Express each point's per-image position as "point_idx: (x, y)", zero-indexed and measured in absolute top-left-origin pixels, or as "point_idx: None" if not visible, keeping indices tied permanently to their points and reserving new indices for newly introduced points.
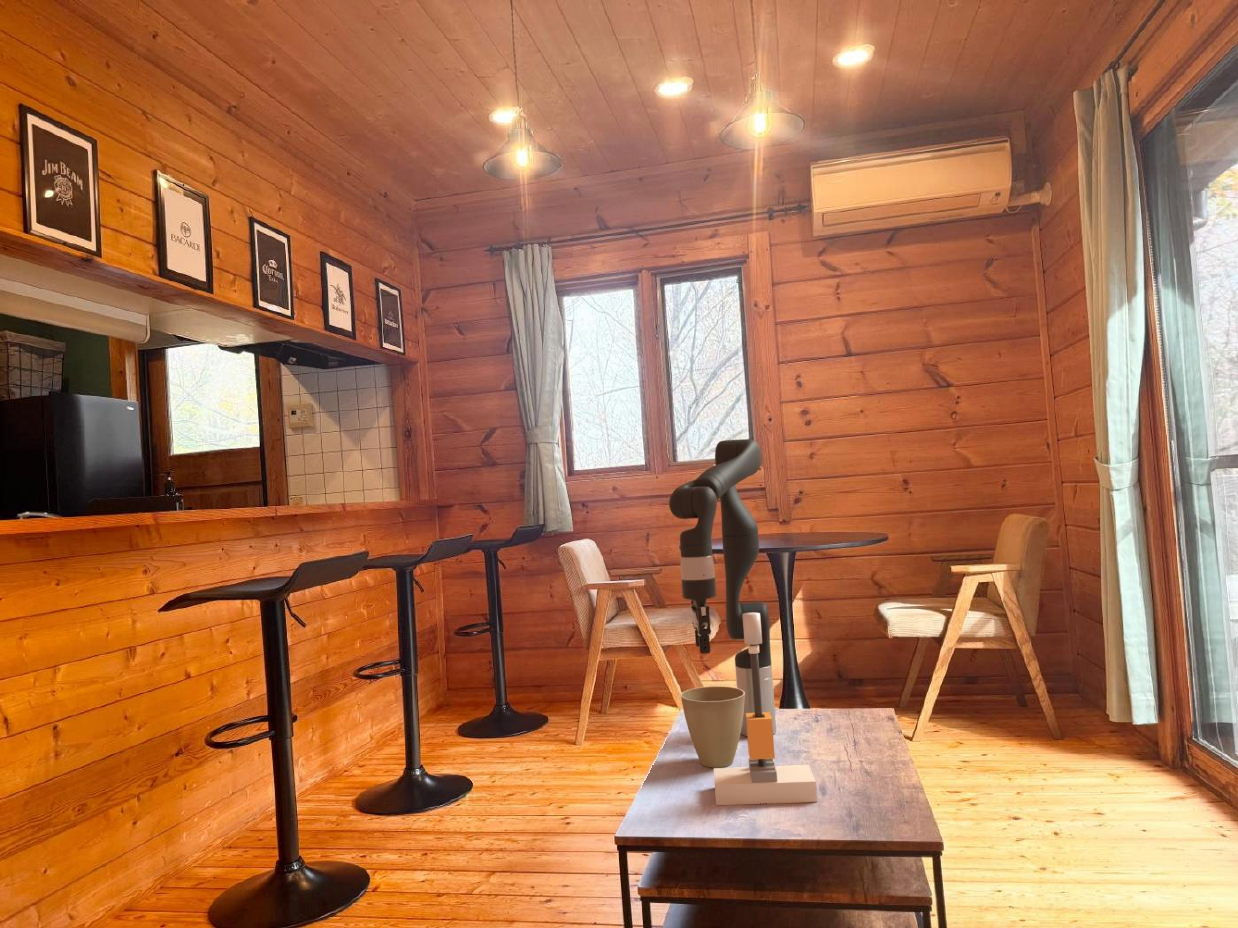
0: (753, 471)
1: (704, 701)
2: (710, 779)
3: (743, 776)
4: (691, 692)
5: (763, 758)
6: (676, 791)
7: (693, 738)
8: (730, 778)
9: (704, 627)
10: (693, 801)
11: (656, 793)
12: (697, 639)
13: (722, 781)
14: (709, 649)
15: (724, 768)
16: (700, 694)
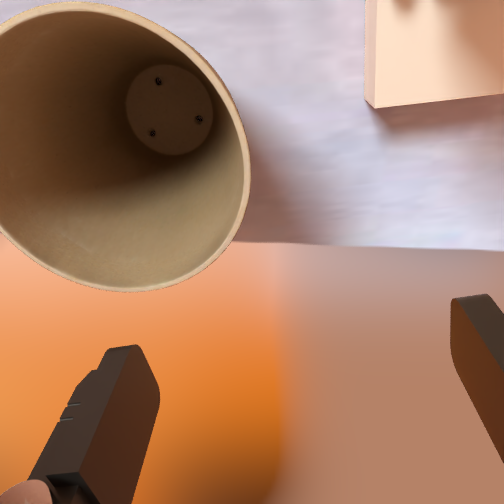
0: None
1: (247, 195)
2: (304, 115)
3: (466, 2)
4: (52, 256)
5: None
6: (380, 189)
7: (202, 191)
8: (473, 46)
9: (53, 498)
10: (453, 143)
11: (387, 230)
12: (143, 434)
13: (493, 70)
14: (496, 310)
15: (380, 73)
16: (25, 220)
